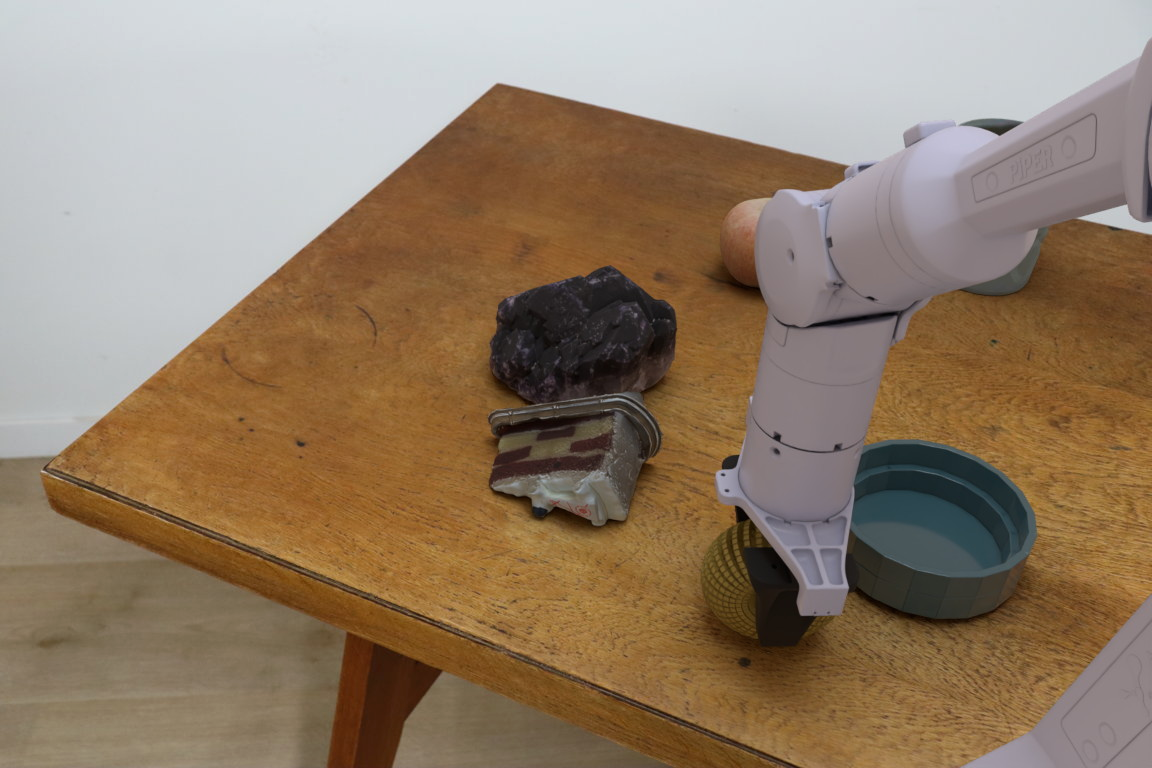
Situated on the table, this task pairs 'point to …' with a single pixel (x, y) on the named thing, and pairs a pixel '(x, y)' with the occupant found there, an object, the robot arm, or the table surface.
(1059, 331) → the table surface
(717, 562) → the sculpture
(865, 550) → the bowl
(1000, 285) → the green vase
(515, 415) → the chocolate cake
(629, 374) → the crystal cluster
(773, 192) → the fruit
